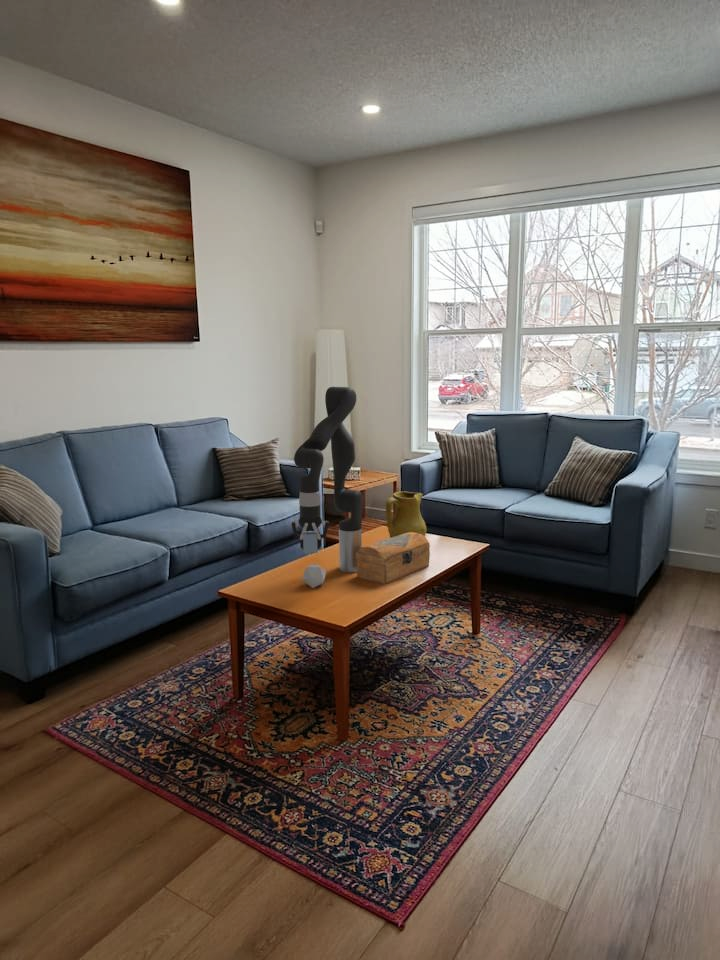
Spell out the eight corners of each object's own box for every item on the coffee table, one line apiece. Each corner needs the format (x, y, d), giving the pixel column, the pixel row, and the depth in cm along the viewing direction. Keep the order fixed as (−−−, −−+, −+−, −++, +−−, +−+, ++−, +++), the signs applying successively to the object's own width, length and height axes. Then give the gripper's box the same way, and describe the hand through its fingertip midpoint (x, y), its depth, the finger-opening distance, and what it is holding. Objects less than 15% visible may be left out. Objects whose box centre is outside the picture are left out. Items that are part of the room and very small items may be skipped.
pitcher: (427, 551, 301) (427, 497, 297) (385, 551, 302) (385, 497, 297) (425, 541, 318) (425, 489, 313) (385, 541, 319) (385, 489, 314)
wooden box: (386, 586, 257) (386, 551, 255) (354, 577, 268) (354, 543, 266) (433, 567, 279) (433, 535, 277) (401, 560, 290) (401, 528, 288)
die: (322, 590, 252) (327, 585, 262) (323, 566, 252) (327, 562, 262) (300, 589, 253) (305, 584, 263) (300, 565, 253) (306, 561, 263)
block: (304, 549, 250) (304, 531, 248) (318, 549, 250) (317, 530, 248) (303, 553, 245) (303, 534, 243) (317, 553, 245) (316, 534, 243)
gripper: (330, 501, 248) (330, 545, 251) (291, 501, 248) (292, 546, 251) (329, 505, 240) (329, 551, 243) (289, 505, 240) (290, 551, 243)
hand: (310, 548), depth 247 cm, fingers closed on block, 5 cm apart
